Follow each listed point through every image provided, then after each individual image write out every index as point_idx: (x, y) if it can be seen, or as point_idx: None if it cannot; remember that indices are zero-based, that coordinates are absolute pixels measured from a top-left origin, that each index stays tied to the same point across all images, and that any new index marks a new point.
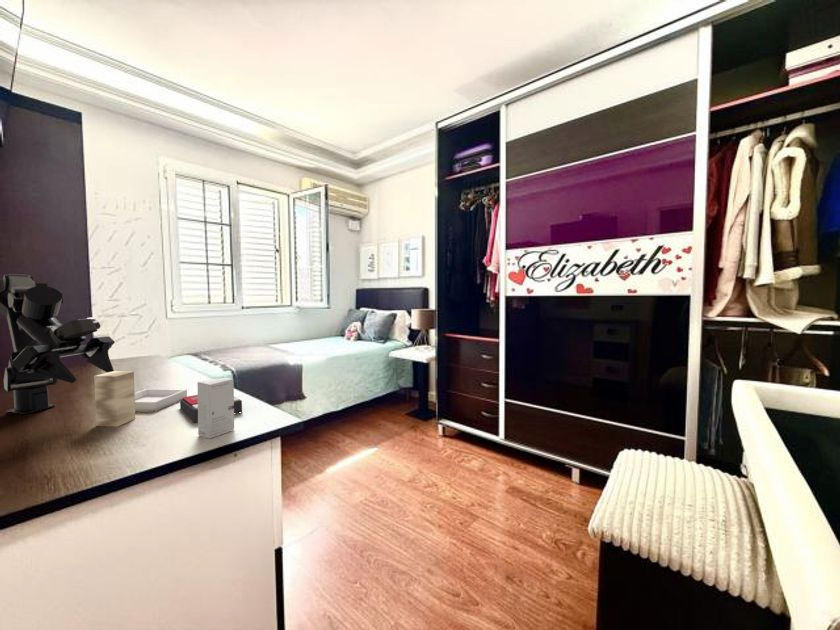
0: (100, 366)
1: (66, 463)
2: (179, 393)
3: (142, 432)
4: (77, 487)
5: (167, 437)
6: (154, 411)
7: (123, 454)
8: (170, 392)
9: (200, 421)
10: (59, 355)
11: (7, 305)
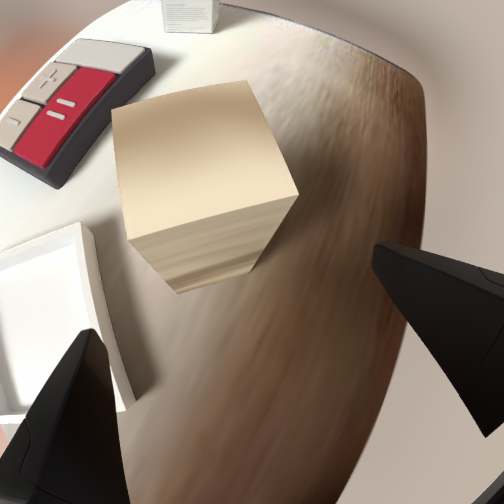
0: (111, 448)
1: (374, 118)
2: None
3: None
4: (378, 62)
5: (235, 61)
6: (93, 235)
7: (314, 71)
8: None
9: (215, 9)
10: (498, 484)
11: None
